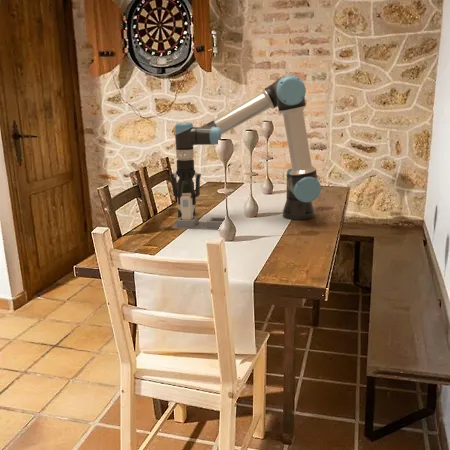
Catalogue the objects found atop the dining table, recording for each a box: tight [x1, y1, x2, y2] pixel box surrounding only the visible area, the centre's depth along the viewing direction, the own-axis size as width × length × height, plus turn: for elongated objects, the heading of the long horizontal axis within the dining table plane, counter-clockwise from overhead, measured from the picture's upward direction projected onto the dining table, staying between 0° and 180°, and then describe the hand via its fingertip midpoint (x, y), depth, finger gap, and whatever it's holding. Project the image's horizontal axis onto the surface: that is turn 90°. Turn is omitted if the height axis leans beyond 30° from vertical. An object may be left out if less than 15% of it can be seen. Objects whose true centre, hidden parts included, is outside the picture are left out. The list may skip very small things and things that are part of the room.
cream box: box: [181, 194, 193, 220], centre depth 219 cm, size 4×5×12 cm
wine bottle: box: [176, 177, 196, 219], centre depth 236 cm, size 8×8×30 cm
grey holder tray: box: [170, 215, 226, 231], centre depth 219 cm, size 26×12×4 cm, turn 77°
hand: (187, 211), depth 220 cm, fingers closed on cream box, 4 cm apart
